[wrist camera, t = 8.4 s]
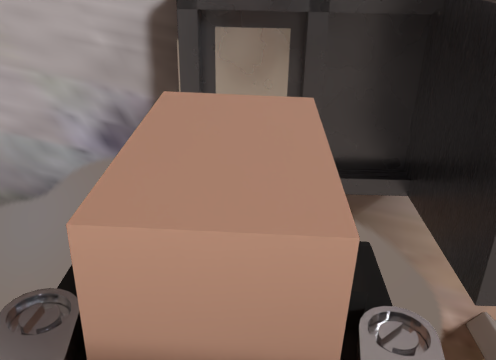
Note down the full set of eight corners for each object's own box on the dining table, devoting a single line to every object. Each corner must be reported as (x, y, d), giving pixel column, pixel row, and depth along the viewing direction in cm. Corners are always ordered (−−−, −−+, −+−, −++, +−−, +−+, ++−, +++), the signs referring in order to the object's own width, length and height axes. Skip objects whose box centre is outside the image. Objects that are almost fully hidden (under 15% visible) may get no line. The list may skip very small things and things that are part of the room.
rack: (181, -16, 25) (122, 5, 14) (447, -11, 25) (592, 16, 14) (189, 172, 30) (148, 295, 19) (412, 177, 30) (500, 305, 19)
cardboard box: (163, 91, 11) (66, 224, 6) (313, 97, 11) (359, 238, 6) (173, 321, 14) (116, 550, 9) (290, 327, 14) (306, 561, 9)
